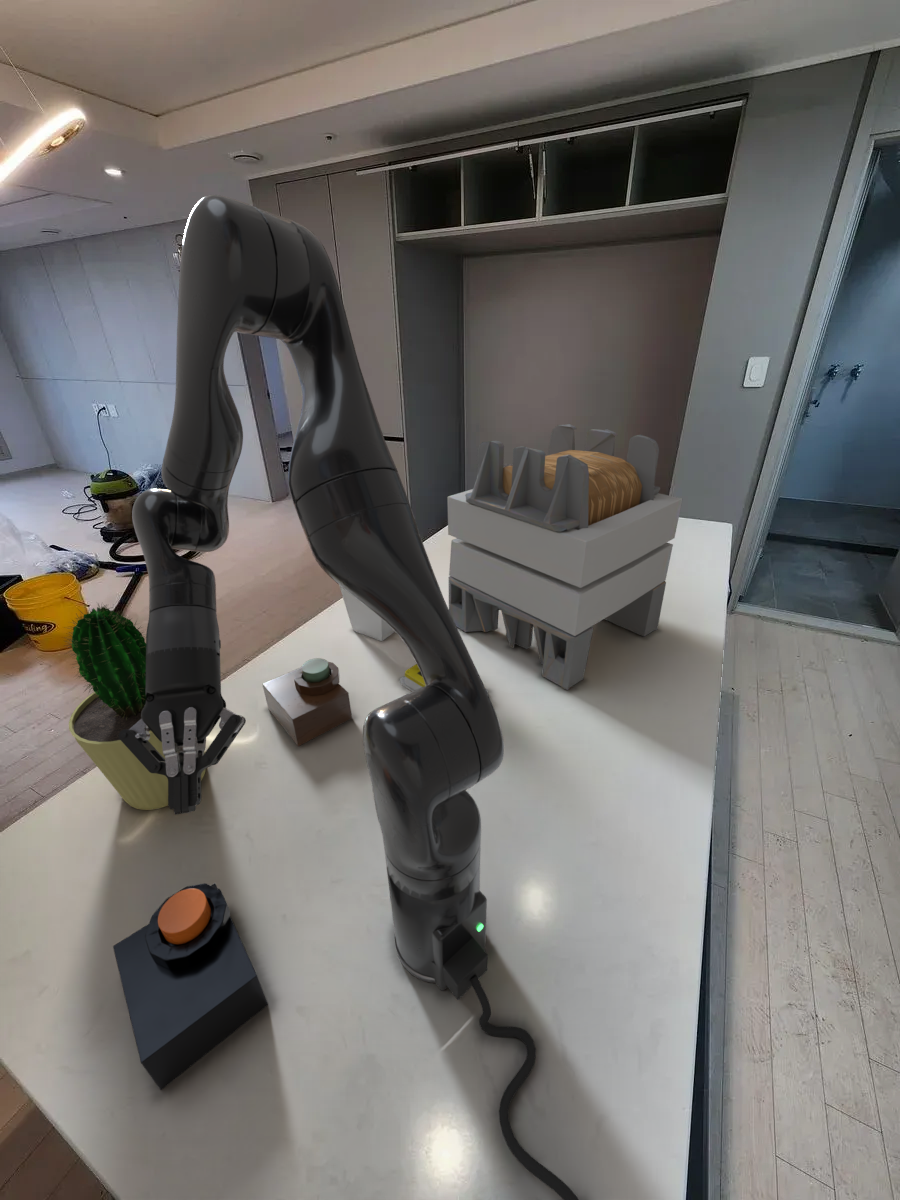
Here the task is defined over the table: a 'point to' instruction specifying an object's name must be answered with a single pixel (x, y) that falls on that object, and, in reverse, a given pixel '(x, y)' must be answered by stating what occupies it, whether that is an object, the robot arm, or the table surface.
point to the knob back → (315, 670)
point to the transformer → (561, 545)
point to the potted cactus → (115, 704)
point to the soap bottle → (365, 618)
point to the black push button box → (187, 990)
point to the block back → (307, 704)
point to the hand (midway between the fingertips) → (185, 812)
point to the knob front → (184, 916)
